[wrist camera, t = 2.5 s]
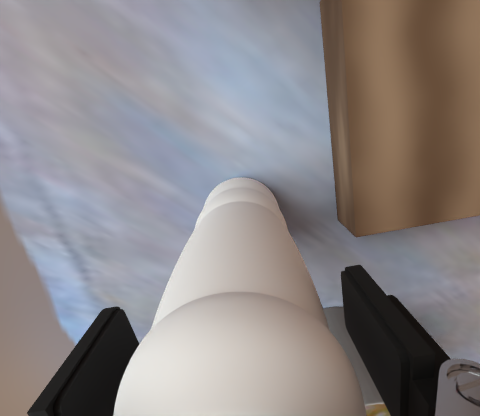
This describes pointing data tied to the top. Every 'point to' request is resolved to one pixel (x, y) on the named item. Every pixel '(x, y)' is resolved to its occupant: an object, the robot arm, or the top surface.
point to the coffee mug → (355, 362)
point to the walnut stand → (403, 110)
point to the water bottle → (240, 324)
